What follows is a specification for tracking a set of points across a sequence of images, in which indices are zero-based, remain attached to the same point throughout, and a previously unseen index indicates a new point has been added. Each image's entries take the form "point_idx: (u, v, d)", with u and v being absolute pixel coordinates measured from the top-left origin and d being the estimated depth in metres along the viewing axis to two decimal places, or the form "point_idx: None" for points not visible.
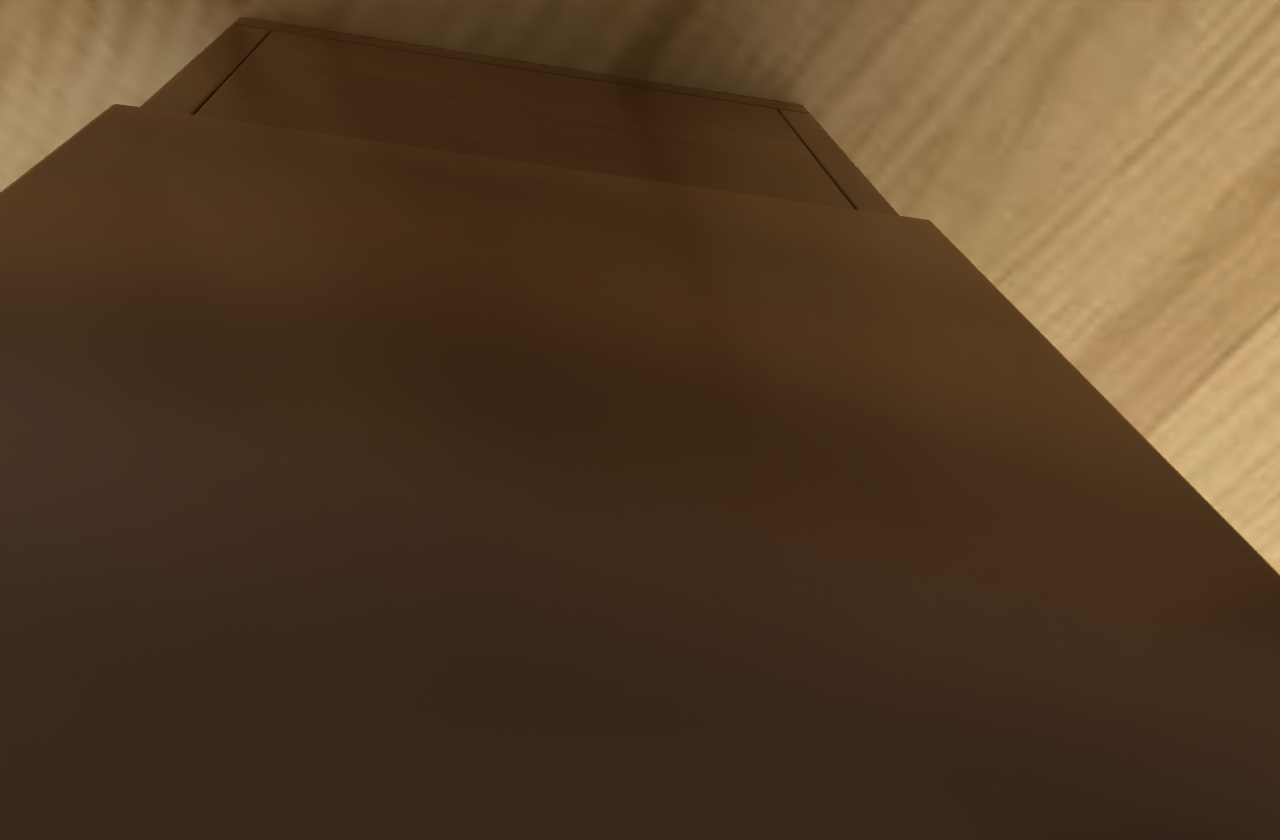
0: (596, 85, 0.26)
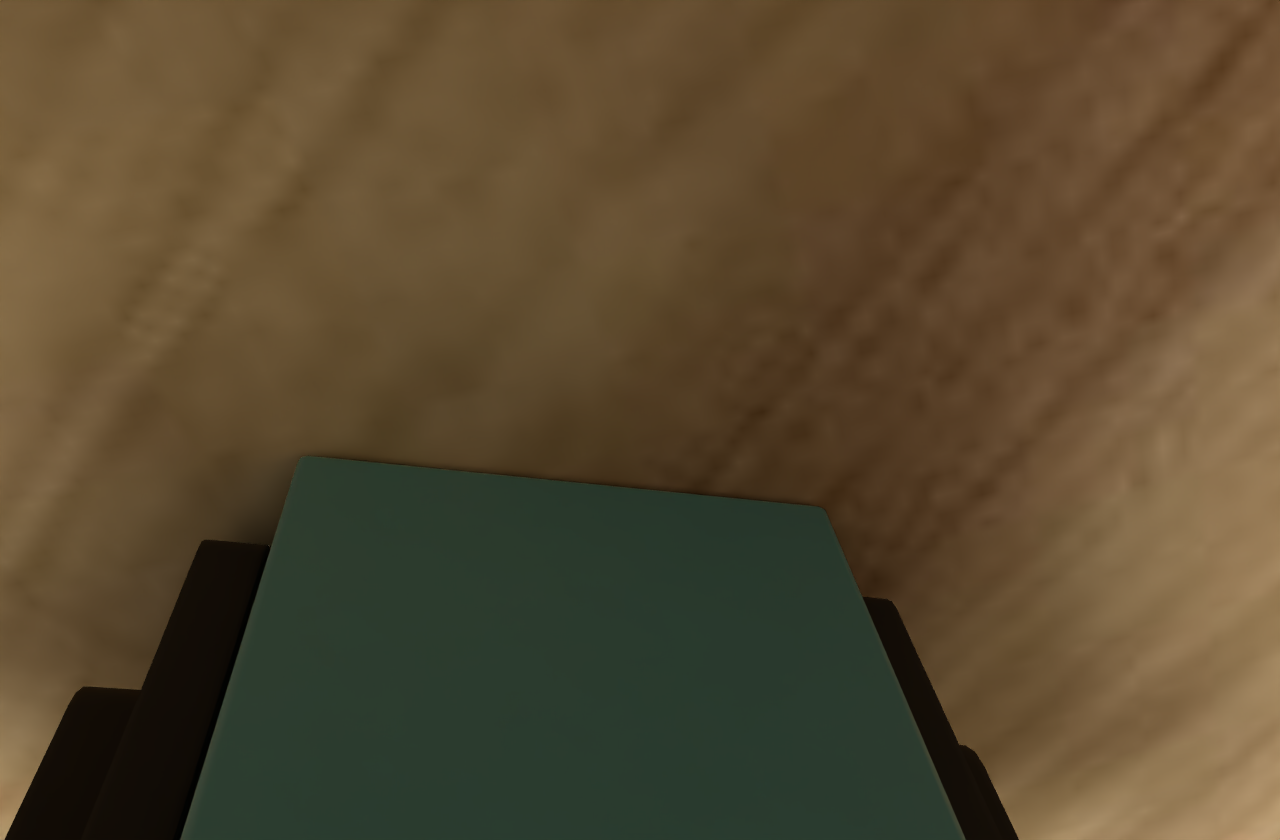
0: None
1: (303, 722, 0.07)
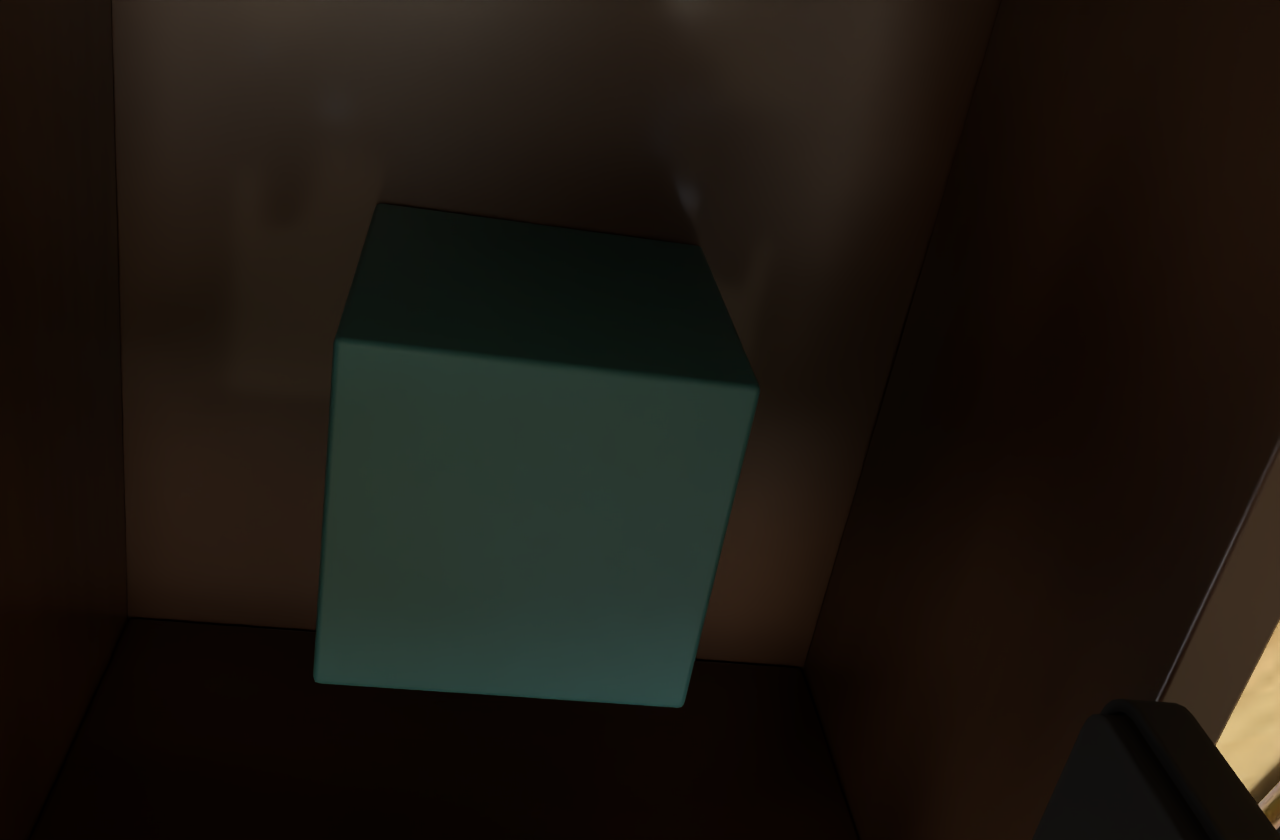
0: None
1: (393, 293, 0.13)
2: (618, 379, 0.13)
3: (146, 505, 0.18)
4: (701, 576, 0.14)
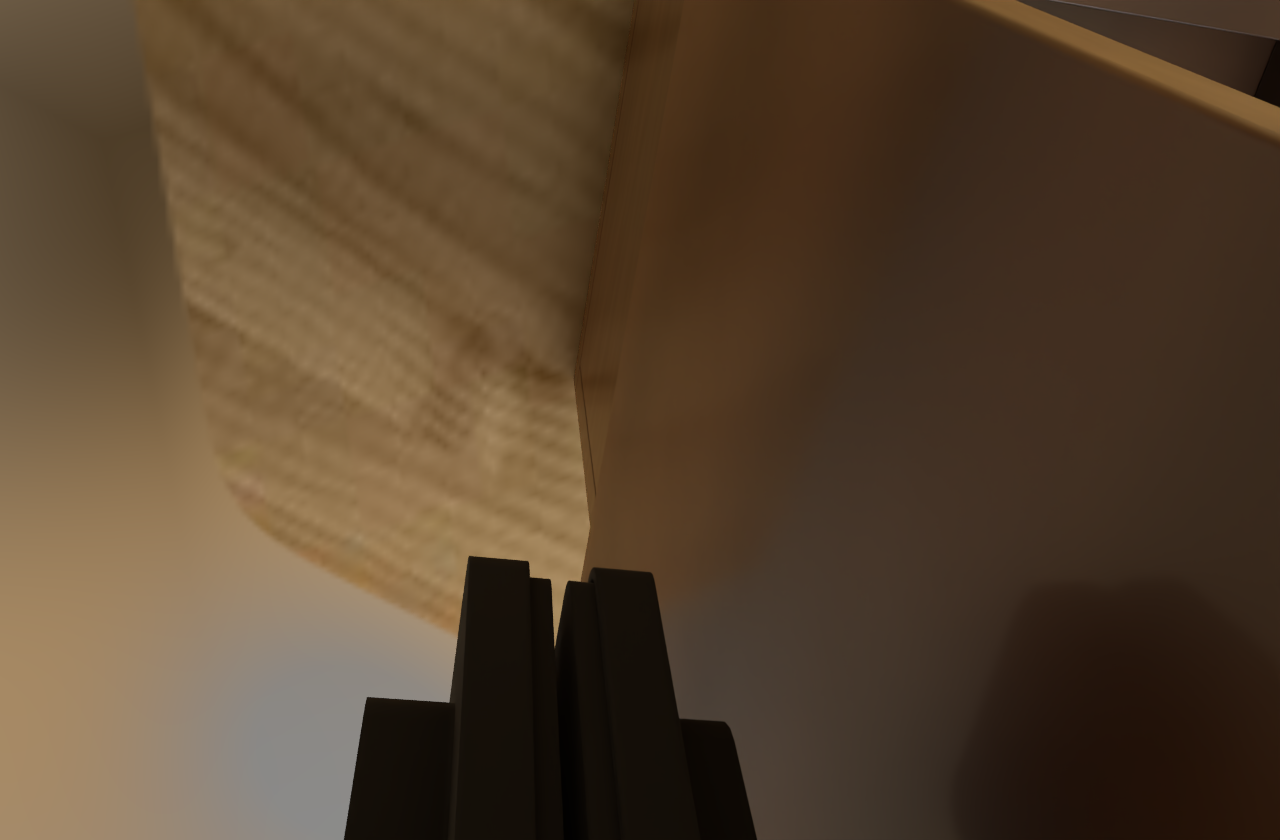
0: (625, 98, 0.26)
1: None
2: None
3: None
4: None
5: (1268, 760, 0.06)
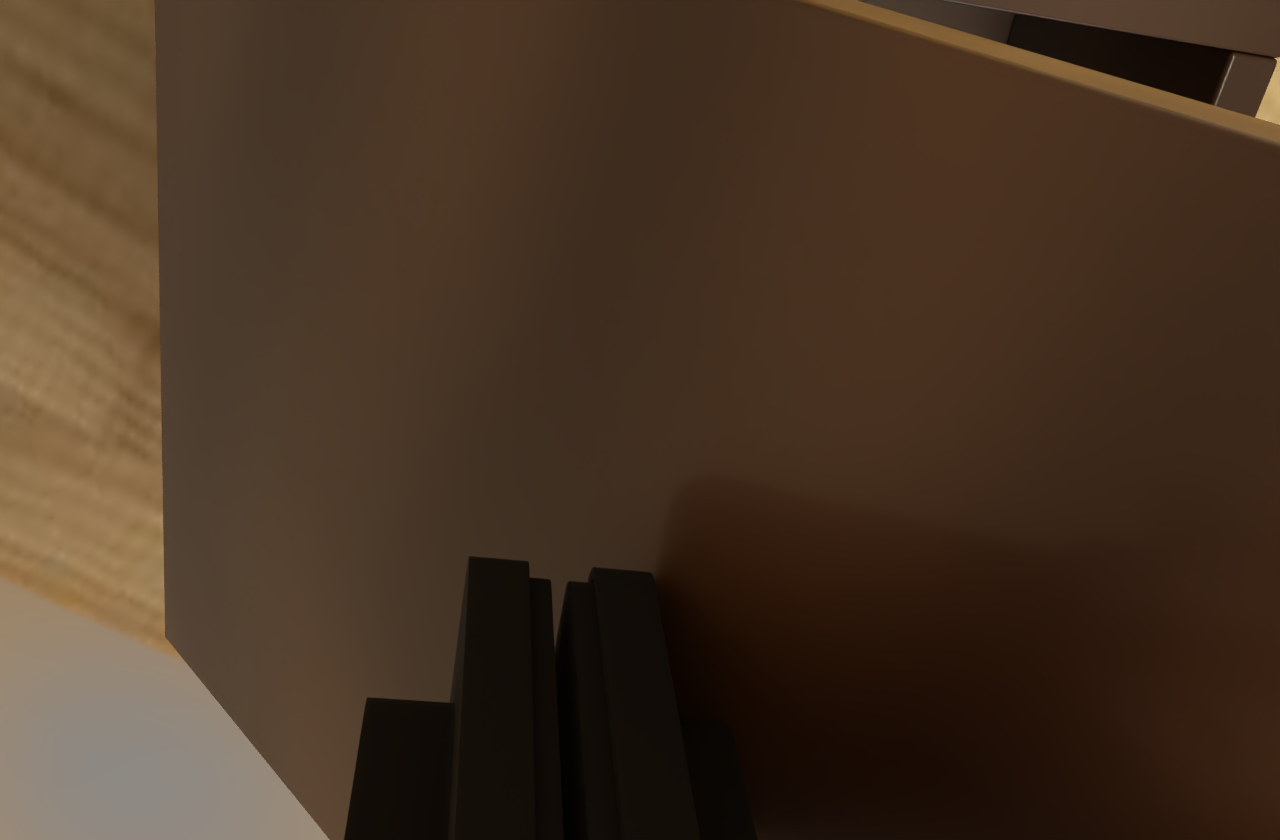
0: None
1: None
2: None
3: None
4: None
5: (1235, 643, 0.07)
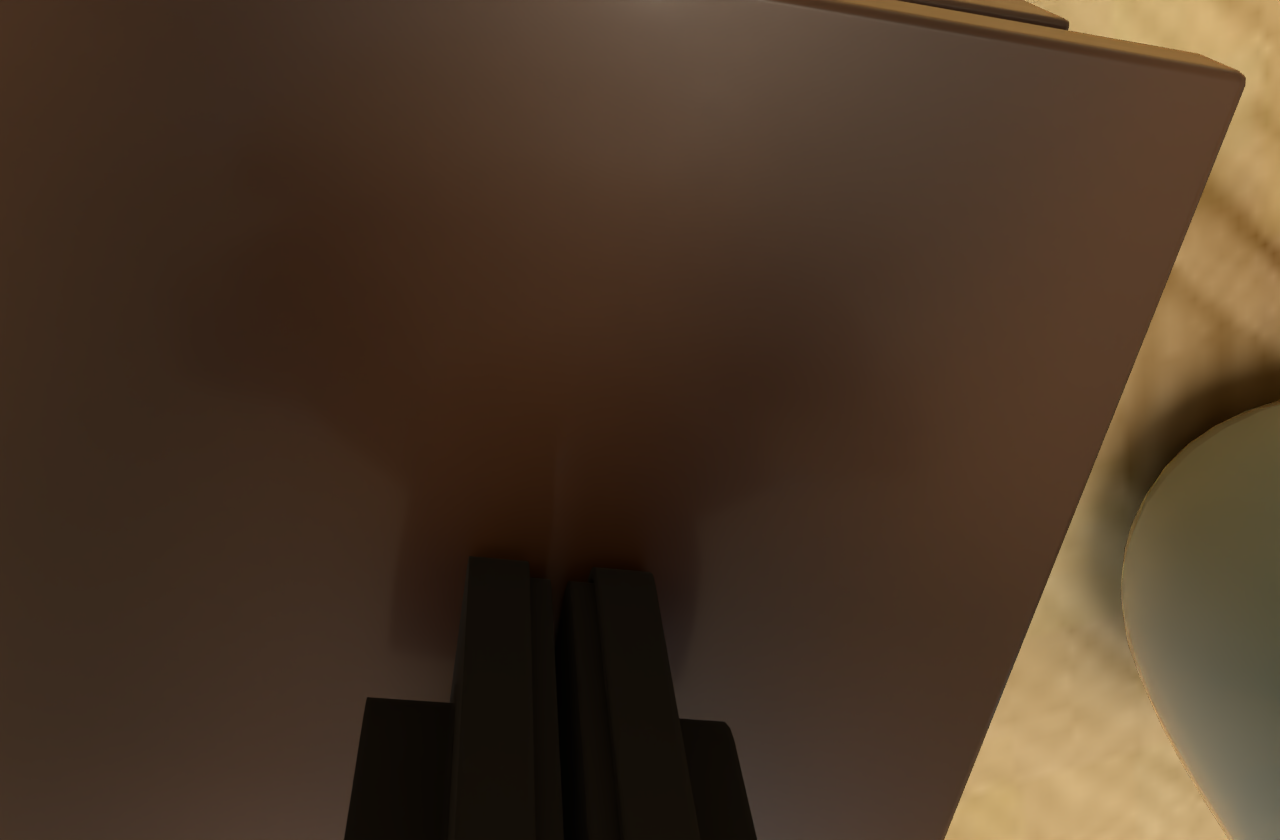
0: None
1: None
2: None
3: None
4: None
5: (901, 368, 0.10)
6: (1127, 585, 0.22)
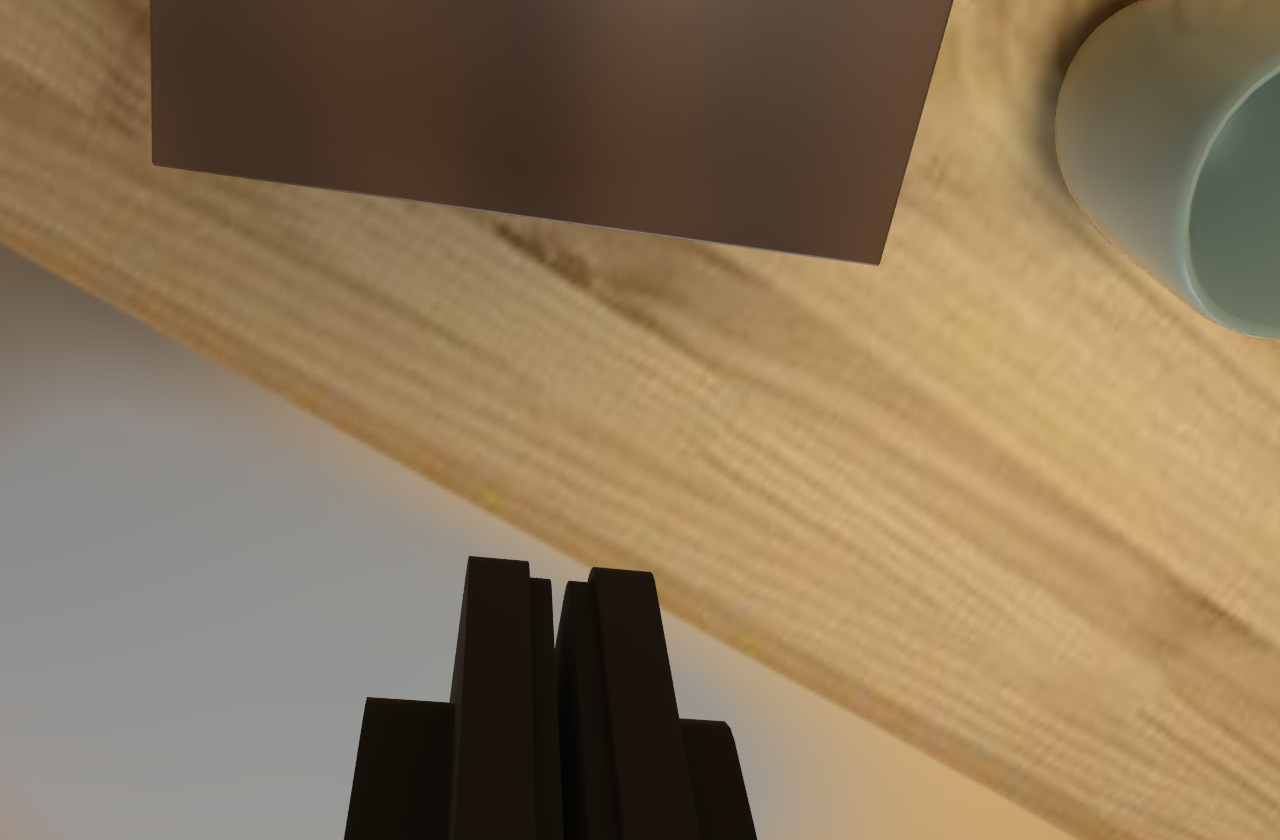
0: None
1: None
2: None
3: None
4: None
5: None
6: (1056, 119, 0.35)
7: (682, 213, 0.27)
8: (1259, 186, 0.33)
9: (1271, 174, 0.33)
